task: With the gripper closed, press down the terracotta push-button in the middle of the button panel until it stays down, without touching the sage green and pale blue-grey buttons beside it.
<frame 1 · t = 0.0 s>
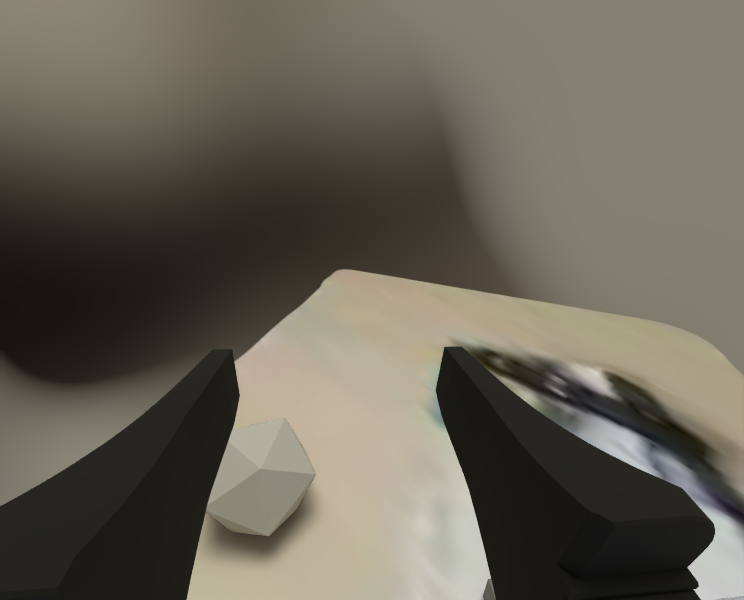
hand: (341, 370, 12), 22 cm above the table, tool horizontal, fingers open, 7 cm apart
die: (262, 506, 31), on the table
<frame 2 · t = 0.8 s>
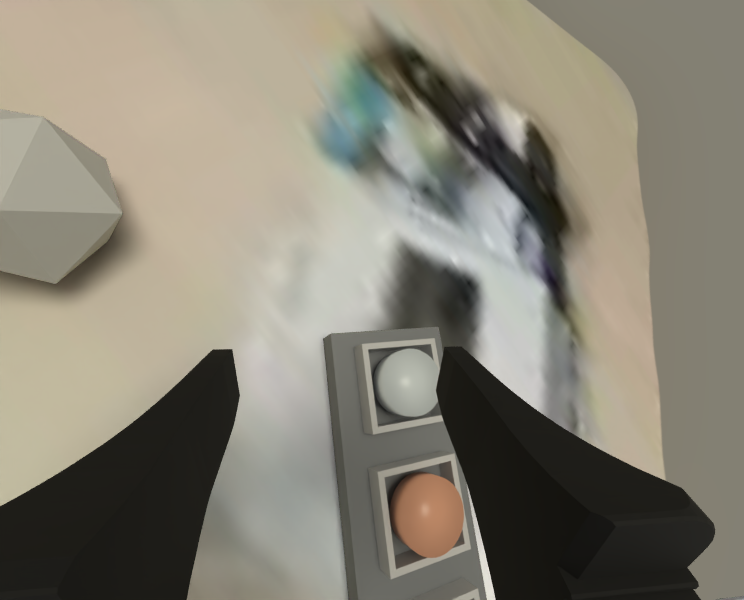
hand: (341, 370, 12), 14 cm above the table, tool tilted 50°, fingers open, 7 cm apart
blue-grey button: (407, 382, 24), point 4 cm above the table, slide at 0.0 cm
terracotta button: (426, 512, 22), point 4 cm above the table, slide at 0.0 cm
button panel: (399, 498, 26), on the table
die: (54, 230, 22), on the table
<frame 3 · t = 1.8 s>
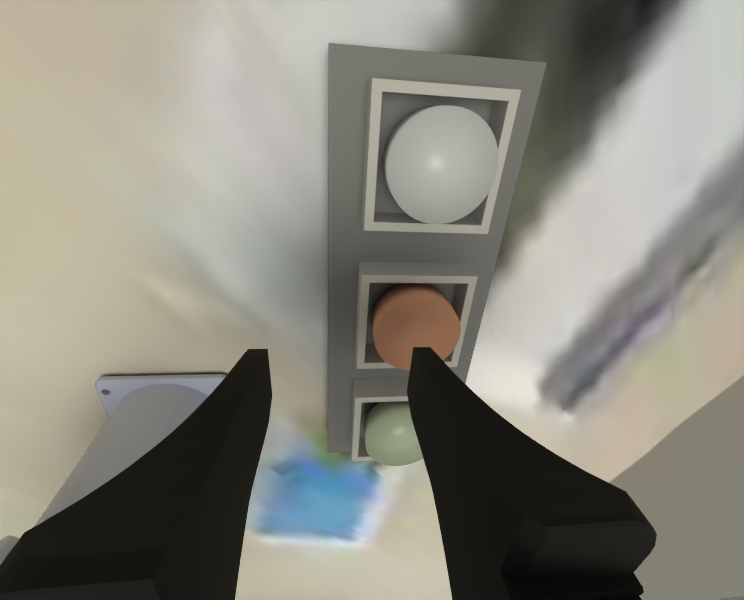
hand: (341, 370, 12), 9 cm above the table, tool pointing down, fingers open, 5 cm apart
blue-grey button: (438, 166, 15), point 4 cm above the table, slide at 0.0 cm
sage button: (399, 432, 22), point 4 cm above the table, slide at 0.0 cm
terracotta button: (414, 327, 19), point 4 cm above the table, slide at 0.0 cm
button panel: (401, 292, 22), on the table
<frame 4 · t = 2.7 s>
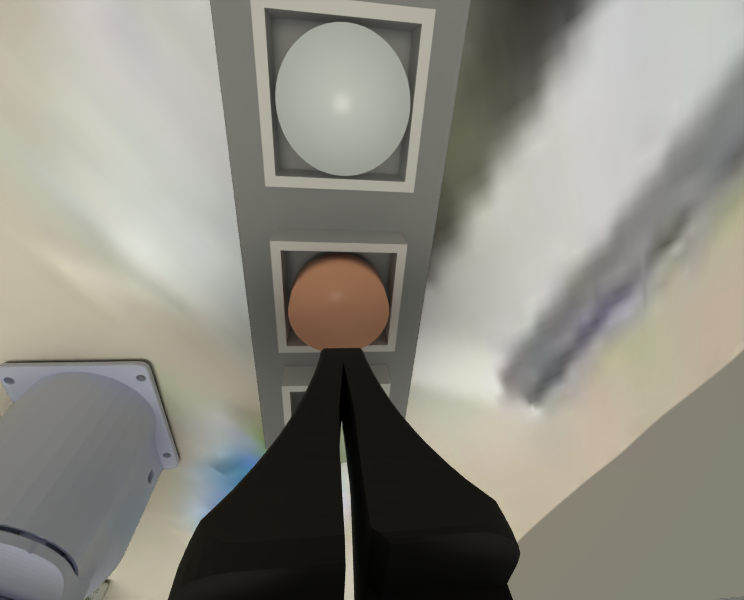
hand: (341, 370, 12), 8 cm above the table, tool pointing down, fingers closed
blue-grey button: (343, 105, 12), point 4 cm above the table, slide at 0.0 cm
sage button: (336, 425, 20), point 4 cm above the table, slide at 0.0 cm
terracotta button: (339, 304, 16), point 4 cm above the table, slide at 0.0 cm
button panel: (337, 269, 20), on the table
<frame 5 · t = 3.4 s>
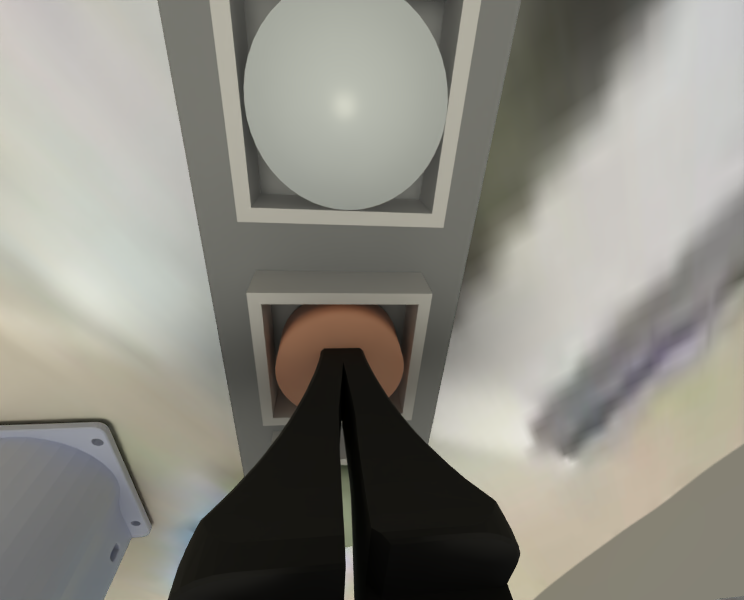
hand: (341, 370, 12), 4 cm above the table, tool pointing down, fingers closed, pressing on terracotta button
blue-grey button: (347, 108, 8), point 4 cm above the table, slide at 0.0 cm
sage button: (337, 504, 16), point 4 cm above the table, slide at 0.0 cm
terracotta button: (340, 357, 13), point 3 cm above the table, slide at 0.7 cm, touching gripper
button panel: (338, 312, 16), on the table
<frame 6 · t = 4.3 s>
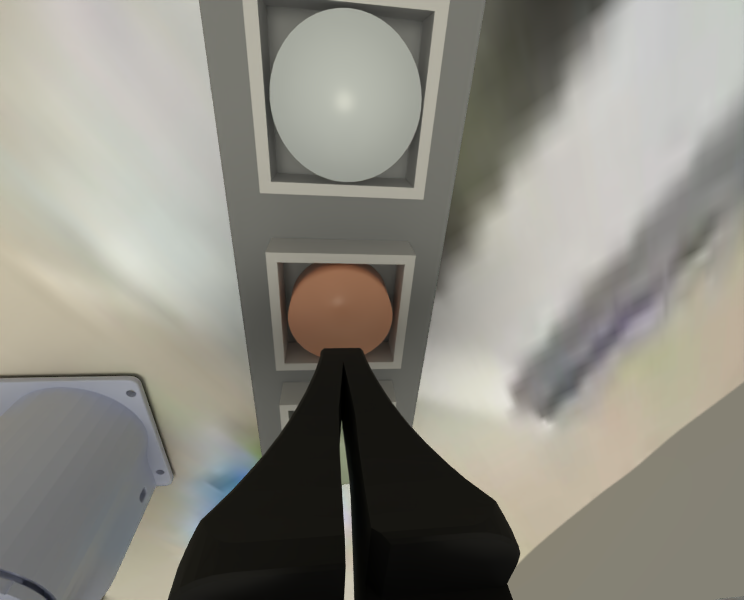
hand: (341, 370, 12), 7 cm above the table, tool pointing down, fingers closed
blue-grey button: (346, 103, 11), point 4 cm above the table, slide at 0.0 cm
sage button: (338, 445, 19), point 4 cm above the table, slide at 0.0 cm
terracotta button: (340, 309, 16), point 3 cm above the table, slide at 0.8 cm
button panel: (339, 279, 18), on the table
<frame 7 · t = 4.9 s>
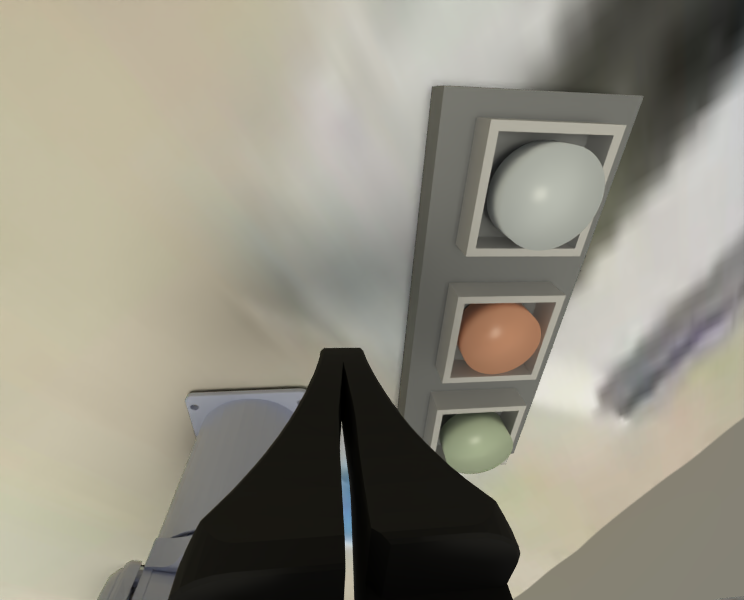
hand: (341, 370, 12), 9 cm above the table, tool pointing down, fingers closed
blue-grey button: (542, 196, 16), point 4 cm above the table, slide at 0.0 cm
sage button: (475, 441, 23), point 4 cm above the table, slide at 0.0 cm
terracotta button: (495, 335, 20), point 3 cm above the table, slide at 0.8 cm
button panel: (477, 308, 23), on the table
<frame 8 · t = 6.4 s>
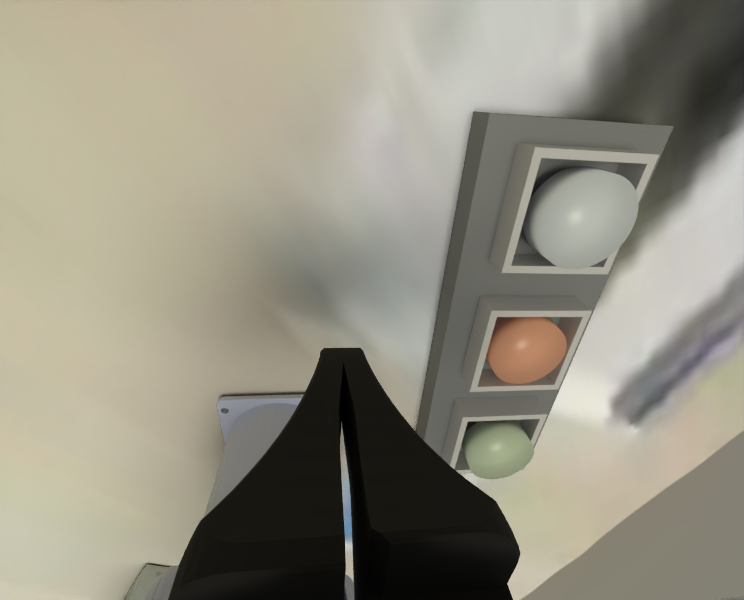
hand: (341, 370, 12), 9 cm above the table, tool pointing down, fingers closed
blue-grey button: (577, 218, 16), point 4 cm above the table, slide at 0.0 cm
sage button: (496, 448, 24), point 4 cm above the table, slide at 0.0 cm
tea box: (173, 599, 38), on the table
terracotta button: (522, 346, 21), point 3 cm above the table, slide at 0.8 cm
button panel: (501, 319, 24), on the table
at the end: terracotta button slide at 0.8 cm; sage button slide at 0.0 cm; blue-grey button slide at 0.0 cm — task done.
